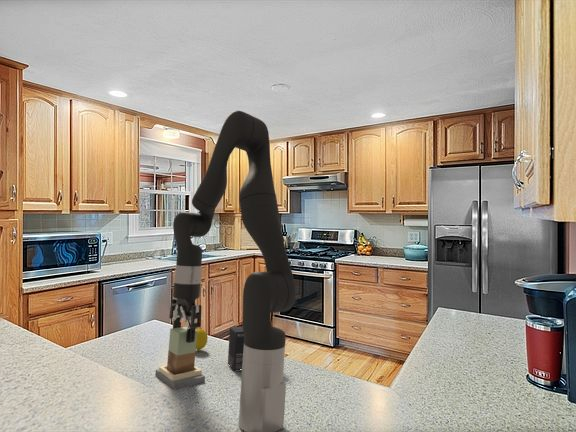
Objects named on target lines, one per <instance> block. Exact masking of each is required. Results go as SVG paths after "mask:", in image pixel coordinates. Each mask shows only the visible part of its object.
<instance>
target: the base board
mask: <svg viewBox="0 0 576 432" xmlns="http://www.w3.org/2000/svg"><path fill="white" fill-rule="evenodd" d="M202 371H203V370H202V369H201V368H199V367H197V366H196V365H194V371H190V372H185V373H181V374H176V375H174V374H172V373H171V372H169V371H168V370H167V364H166V365H162V366H159V367H158V368H157V369H155V376H157V377H158V378H159V379H160V380H161V381H162V382H164V383H165V384H167V385H168V386H169V387H171V389H173V390H177V389H181V388H185V387H189V386H193V385H197V384H200V383H204V382H205V381H206V375H204V374H203V373H202Z"/></svg>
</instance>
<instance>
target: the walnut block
mask: <svg viewBox="0 0 576 432" xmlns="http://www.w3.org/2000/svg"><path fill="white" fill-rule="evenodd" d="M195 361H196V352H194V353H189V354H183V355H178V356H177V355H176V354H174V353H172V352H171V351H169V349H168V352H167V364H166V365H167V370H168V371H169V372H171V373H172V374H174V375H176V374H181V373H185V372H190V371H194V366H195Z"/></svg>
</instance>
